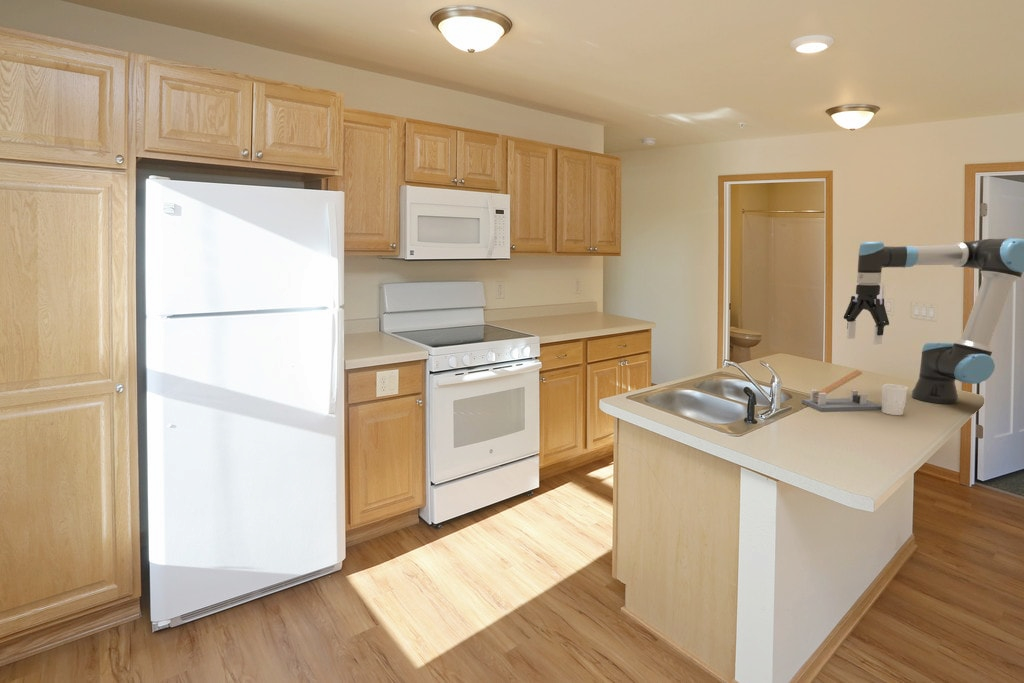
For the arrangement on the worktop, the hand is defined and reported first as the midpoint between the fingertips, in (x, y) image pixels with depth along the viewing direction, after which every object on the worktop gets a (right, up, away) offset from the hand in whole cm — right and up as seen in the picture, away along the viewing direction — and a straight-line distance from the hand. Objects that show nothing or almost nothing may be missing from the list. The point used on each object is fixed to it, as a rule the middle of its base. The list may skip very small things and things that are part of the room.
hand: (863, 341), depth 216 cm
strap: (-8, -17, +3) cm, 19 cm away
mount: (-5, -25, +5) cm, 26 cm away
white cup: (+9, -27, -3) cm, 28 cm away
